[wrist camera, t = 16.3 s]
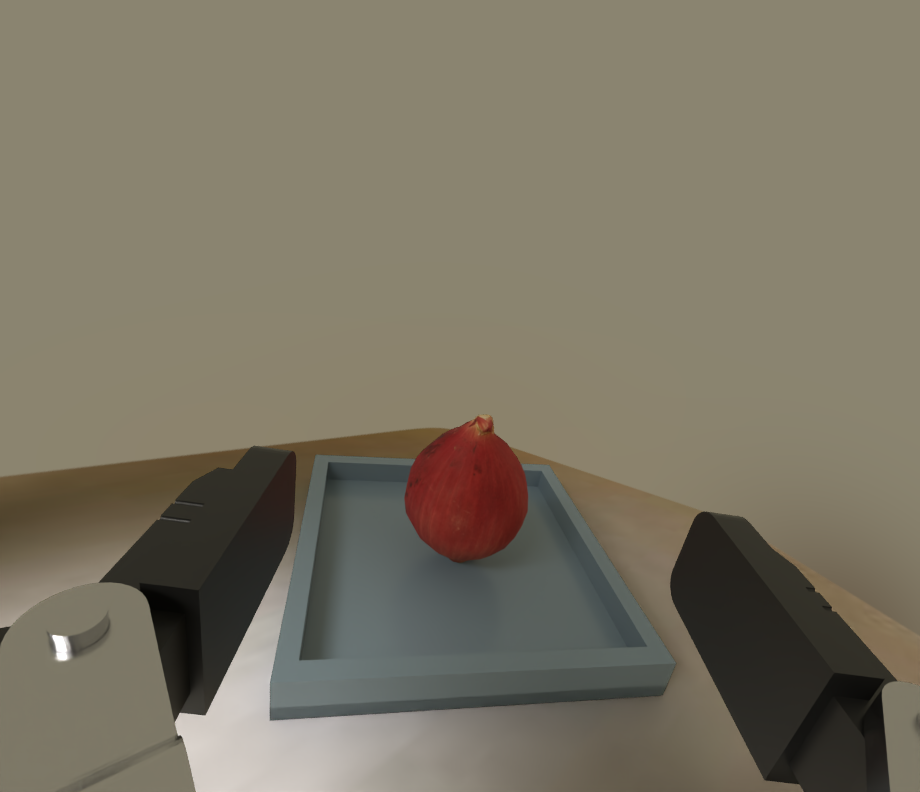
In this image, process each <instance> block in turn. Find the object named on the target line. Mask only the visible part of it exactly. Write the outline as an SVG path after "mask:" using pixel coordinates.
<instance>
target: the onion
mask: <svg viewBox="0 0 920 792" xmlns="http://www.w3.org/2000/svg"><path fill="white" fill-rule="evenodd" d="M404 500H405V510H406V514H407V516H408V518H409V519H410V521H411V523H412V525H413V527H414V529H415V530H416V532H417V534H418V535H419V537H420V539H421V540H423V541H424V542H425V543H426V544H427V545H428V546H430V547H431V548H432V549H433V550H435V551H436V552H437V553H438V554H441V555H443V556H445V557H448V558H449V559H450V560H451V561H453V562H457V563H463V562H465V561H468V560H479V559H483V558H486V557H488V556H491V555H493V554H495V553H497V552H499V551H501V550H503V549H504V548H505V547H506V546H507V545H508V544H509V543H510V542H511V541H512V540H513V539H514V538H515V536H516V535H517V533H518V532H519V530H520V528H521V527H522V524H523V522H524V519H525V517H526V514H527V512H528V490H527V482H526V476H525V473H524V470H523V468H522V465H521V464H520V462H519V460H518V458H517V457H516V455H515V454H514V453H513V451H512V450H511V449H510V447H509V446H508V444H507V443H506V442H505V441H503V440H502V439H501V438H500V437H498V436H497V435H496V434H495V433H494V426H493V419H492V417H491V416H490V415H478V416H477V417H476V418H475V419H473V420H471V421H469V422H467V423H465V424H464V425H462V426H460V427H456V428H454V429H451V430H449V431H447V432H445V433H444V434H442V435H441V436H439V437H438V438H437V439H436V440H435V441H433V442H432V443H431V444H430V445H429V446H427V447H426V448H425V449H424V450H423V451H422V452H421V453H420V454H419V455H418V456H417V458H416V459H415V461H414V463H413V465H412V467H411V470H410V474H409V478H408V482H407V487H406V492H405V497H404Z"/></svg>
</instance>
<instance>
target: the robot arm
mask: <svg viewBox="0 0 920 792" xmlns="http://www.w3.org/2000/svg"><path fill="white" fill-rule="evenodd" d="M295 480H296V455H295V453H294V452H293V451H287V450H280V449H273V448H266V447H259V446H253V447H251V448H250V449H249V450H248V452H247V453H246V454H245V455H244V456H243V458H242V459H241V460H240V461H239V463H238V464H237V465H236V466H235V467H234V469H233V470H232V469H225V468H217V469H215V470H213V471H211V472H209V473H208V474H206V475H204V476H202V477H200V478H198V479H196V480H194V481H193V482H192V483H191V484H190V485H189V486H188V487H187V488H186V489H185V490H184V491H183V492H182V493H181V495H180V496H179V497H178V498H177V499H176V501H175V504H171V505H170V506H169V507H168V509H167V510H166V511H165V512H164V513H163V514H162V515H161V518H160V520H156V521H155V522H154V524H153V525H152V526H151V527H150V528H149V529H148V530H147V531H146V532H145V533H144V534H143V535H142V536H141V538H140V539H139V540H138V541H137V542H136V543H135V544H134V545H133V546H132V547H131V548H130V549H129V550H128V552H127V553H126V554H125V555H124V556H123V557H122V558H121V559H120V560H119V561H118V562H117V563H116V564H115V565H114V567H113V568H112V569H111V570H110V571H109V572H108V573H107V574H106V575H105V576H104V577H103V578H102V579H101V581H100V582H99V583H94V584H87V585H83V586H78V587H75V588H72V589H69V590H65V591H63V592H60V593H58V594H56V595H53V596H51V597H49V598H47V599H46V600H44V601H42V602H40V603H39V604H37V605H35V606H34V607H32V608H31V609H29V610H28V611H27V612H26V613H24V614H23V615H22V616H21V617H20V618H19V619H18V620H17V621H16V622H15V623H14V624H13V625H12V626H10V627H4V628H0V792H196V791H195V787H194V782H193V778H192V773H191V769H190V765H189V760H188V756H187V752H186V748H185V745H184V742H183V739H182V737H181V736H178V735H177V731H176V727H175V721H176V719H177V717H178V715H179V713H188V714H197V715H206V713H207V711H208V709H209V707H210V705H211V703H212V701H213V699H214V697H215V695H216V693H217V691H218V689H219V687H220V685H221V682H222V680H223V678H224V676H225V674H226V672H227V670H228V668H229V666H230V664H231V662H232V660H233V658H234V656H235V654H236V652H237V650H238V648H239V646H240V644H241V642H242V640H243V638H244V636H245V634H246V631H247V629H248V627H249V625H250V623H251V621H252V619H253V617H254V615H255V613H256V611H257V609H258V607H259V605H260V603H261V601H262V599H263V597H264V595H265V593H266V591H267V589H268V587H269V585H270V583H271V581H272V578H273V576H274V574H275V572H276V570H277V568H278V566H279V564H280V562H281V560H282V558H283V556H284V554H285V552H286V550H287V547H288V544H289V541H290V537H291V533H292V528H293V522H294V503H295ZM670 588H671V596H672V600H673V603H674V605H675V607H676V609H677V611H678V613H679V615H680V617H681V619H682V621H683V622H684V624H685V626H686V628H687V630H688V632H689V634H690V636H691V638H692V640H693V642H694V644H695V646H696V648H697V650H698V652H699V654H700V656H701V657H702V659H703V661H704V663H705V665H706V667H707V669H708V671H709V673H710V675H711V677H712V679H713V681H714V683H715V685H716V687H717V689H718V691H719V693H720V694H721V696H722V698H723V700H724V702H725V704H726V706H727V708H728V710H729V712H730V714H731V716H732V718H733V720H734V722H735V724H736V726H737V728H738V730H739V731H740V733H741V735H742V737H743V739H744V741H745V743H746V745H747V747H748V749H749V751H750V753H751V755H752V757H753V759H754V761H755V763H756V765H757V766H758V768H759V770H760V772H761V774H762V776H763V778H764V780H766V781H775V782H784V783H793V784H800V786H801V787H802V789H803V791H804V792H920V686H918V685H915V684H912V683H907V682H901V681H897V680H896V679H895V678H894V676H893V675H892V674H891V673H890V672H889V671H888V670H887V669H886V667H885V666H884V665H883V664H882V663H881V662H880V661H879V660H878V658H877V657H876V656H875V655H874V654H873V653H872V652H871V651H870V649H869V648H868V647H867V646H866V645H865V644H864V643H863V642H862V641H861V639H860V638H859V637H858V636H857V635H856V634H855V633H854V632H853V630H852V629H851V628H850V627H849V626H848V625H847V624H846V623H845V621H844V620H843V619H842V618H841V617H840V616H839V615H838V614H837V612H833V611H832V610H831V608H832V607H831V606H830V605H829V603H828V602H827V601H826V600H825V599H824V598H823V597H822V596H821V594H820V593H817V592H815V588H814V587H813V585H812V584H811V583H810V582H809V581H808V580H807V579H806V578H805V576H804V575H803V574H802V573H801V572H800V571H799V570H798V569H797V567H796V566H794V565H793V564H792V563H790V562H789V561H788V560H786V559H785V558H784V557H783V556H781V555H780V554H779V553H777V552H776V551H775V550H773V549H772V548H771V547H770V546H769V545H768V544H767V542H766V541H765V540H764V539H763V538H762V537H761V536H760V534H759V533H758V532H757V531H756V530H755V529H754V527H753V526H752V525H751V524H750V523H749V522H748V521H747V520H746V519H745V518H743V517H739V516H732V515H725V514H718V513H712V512H701V513H699V514H698V515H697V516H696V517H695V519H694V521H693V523H692V525H691V528H690V530H689V533H688V535H687V537H686V540H685V542H684V545H683V547H682V549H681V552H680V554H679V556H678V559H677V561H676V564H675V566H674V568H673V571H672V575H671V582H670Z"/></svg>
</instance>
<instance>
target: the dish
mask: <svg viewBox="0 0 920 792" xmlns="http://www.w3.org/2000/svg"><path fill="white" fill-rule="evenodd" d="M414 461H415V459H402V458H379V457H357V456H334V455H315V460H314V465H313V470H312V475H311V481H310V486H309V491H308V496H307V501H306V506H305V511H304V516H303V521H302V526H301V531H300V536H299V541H298V546H297V551H296V556H295V561H294V566H293V571H292V576H291V581H290V586H289V591H288V596H287V601H286V606H285V611H284V616H283V621H282V626H281V631H280V636H279V641H278V646H277V651H276V656H275V661H274V666H273V671H272V676H271V681H270V720H284V719H299V718H315V717H331V716H347V715H362V714H378V713H394V712H409V711H425V710H441V709H457V708H472V707H488V706H504V705H519V704H535V703H551V702H567V701H582V700H598V699H614V698H629V697H645V696H661V695H663V693H664V691H665V688H666V686H667V684H668V681H669V679H670V677H671V674H672V672H673V670H674V667H675V665H676V662H675V661H674V659H673V657H672V656H671V654H670V653H669V651H668V650H667V648H666V647H665V645H664V643H663V642H662V640H661V639H660V637H659V636H658V634H657V633H656V631H655V629H654V628H653V626H652V625H651V623H650V622H649V620H648V619H647V617H646V615H645V614H644V612H643V611H642V609H641V608H640V606H639V604H638V603H637V601H636V600H635V598H634V597H633V595H632V594H631V592H630V590H629V589H628V587H627V586H626V584H625V583H624V581H623V580H622V578H621V576H620V575H619V573H618V572H617V570H616V569H615V567H614V566H613V564H612V562H611V561H610V559H609V558H608V556H607V555H606V553H605V551H604V550H603V548H602V547H601V545H600V544H599V542H598V541H597V539H596V537H595V536H594V534H593V533H592V531H591V530H590V528H589V527H588V525H587V523H586V522H585V520H584V519H583V517H582V516H581V514H580V513H579V511H578V509H577V508H576V506H575V505H574V503H573V502H572V500H571V498H570V497H569V495H568V494H567V492H566V491H565V489H564V488H563V486H562V484H561V483H560V481H559V480H558V478H557V477H556V475H555V474H554V472H553V470H552V469H551V467H550V466H549V465H537V464H521V465H522V468H523V470H524V473H525V476H526V482H527V490H528V512H527V514H526V517H525V519H524V522H523V524H522V527H521V528H520V530H519V532H518V533H517V535H516V536H515V538H514V539H513V540H512V541H511V542H510V543H509V544H508V545H507V546H506V547H505V548H504V549H503V550H501V551H499V552H497V553H495V554H493V555H491V556H488V557H486V558H483V559H479V560H468V561H465V562H463V563H457V562H453V561H451V560H450V559H449V558H448V557H445V556H443V555H441V554H438V553H437V552H436V551H435V550H433V549H432V548H431V547H430V546H428V545H427V544H426V543H425V542H424V541H423V540H421V539H420V537H419V535H418V534H417V532H416V530H415V529H414V527H413V525H412V523H411V521H410V519H409V518H408V516H407V514H406V510H405V500H404V497H405V492H406V487H407V482H408V478H409V474H410V470H411V467H412V465H413V463H414Z"/></svg>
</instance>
